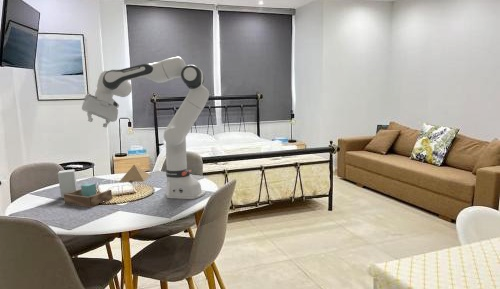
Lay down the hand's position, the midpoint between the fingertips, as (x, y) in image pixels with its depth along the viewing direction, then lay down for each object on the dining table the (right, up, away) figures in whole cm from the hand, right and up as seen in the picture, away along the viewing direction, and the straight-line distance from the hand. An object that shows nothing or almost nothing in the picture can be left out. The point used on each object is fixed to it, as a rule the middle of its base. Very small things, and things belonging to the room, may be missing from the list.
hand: (97, 124), depth 190 cm
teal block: (-5, -41, +2) cm, 41 cm away
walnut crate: (-6, -41, +1) cm, 41 cm away
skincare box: (-21, -40, +12) cm, 47 cm away
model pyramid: (+4, -34, +49) cm, 60 cm away
